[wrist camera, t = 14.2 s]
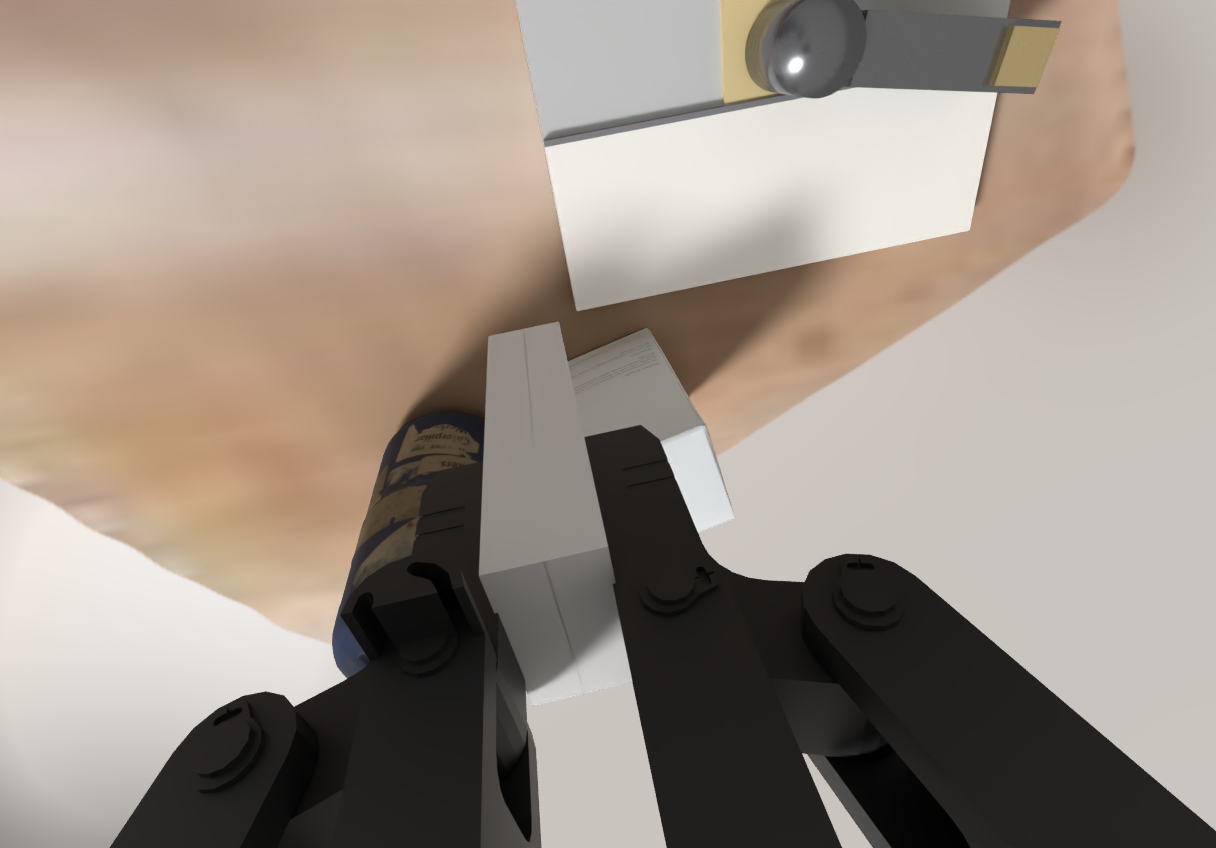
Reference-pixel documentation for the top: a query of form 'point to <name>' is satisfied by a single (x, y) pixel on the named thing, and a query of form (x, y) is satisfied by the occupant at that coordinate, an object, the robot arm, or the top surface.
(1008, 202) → the top surface
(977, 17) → the arm
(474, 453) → the canister
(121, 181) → the top surface
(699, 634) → the robot arm
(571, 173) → the door board
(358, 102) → the top surface
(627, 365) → the supplement box
